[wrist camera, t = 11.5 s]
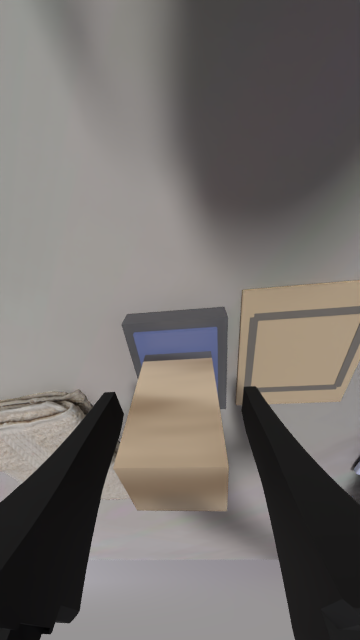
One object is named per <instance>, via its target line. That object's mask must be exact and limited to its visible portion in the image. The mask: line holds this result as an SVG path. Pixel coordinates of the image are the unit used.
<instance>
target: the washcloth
mask: <svg viewBox="0 0 360 640" xmlns="http://www.w3.org/2000/svg"><path fill="white" fill-rule="evenodd" d="M91 409H92V406H91V405H90V402H89V401H88V400H87V399H86V396H85V395H84V394H83V393H82V392H81V391H80V390H79V389H78V390H76V391H75V392H73V393H70V394H68V393H66V392H55V391H52V392H45V393H38V394H32V395H28V396H24V397H20V398H15V399H7V400H0V471H1V472H3V473H6V474H7V475H9V476H11V477H13V478H14V479H15V480H17V481H18V482H19V483H20V484H22V483H23V482H24V481H25V480H26V479H27V478H28V477H29V476H30V475H32V474H33V473H34V472H35V471H36V470H37V469H38V468H39V467H40V466H41V465H42V464H43V463H44V462H45V461H46V460H47V459H48V458H49V457H50V456H51V455H52V454H53V453H54V452H55V450H56V449H57V448H58V447H59V446H60V445H61V444H62V443H63V442H64V441H65V439H66V438H67V437H68V436H69V435H70V434H71V433H72V432H73V430H74V429H75V428H76V427H77V426H78V425H79V423H80V422H81V421H82V420H83V419H84V417H85V416H86V415H87V414H88V412H89V411H90V410H91ZM119 445H120V443H119V441H118V442H117V445H116V448H115V452H114V455H113V458H112V461H111V464H110V467H109V470H108V474H107V477H106V480H105V484H104V487H103V491H102V495H101V499H105V500H110V499H111V500H115V499H116V500H117V499H118V500H120V499H128V498H129V499H130V497H129V495H128V493H127V491H126V490H125V488H124V486H123V484H122V483H121V481H120V479H119V478H118V476H117V474H116V472H115V471H114V469H113V467H114V463H115V459H116V456H117V452H118V449H119Z"/></svg>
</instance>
